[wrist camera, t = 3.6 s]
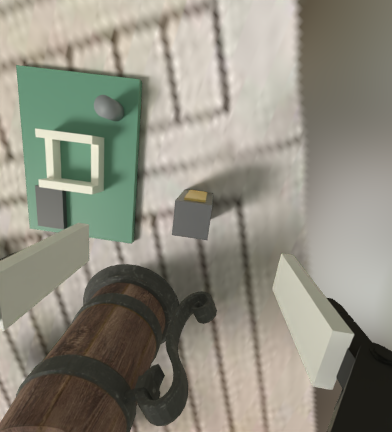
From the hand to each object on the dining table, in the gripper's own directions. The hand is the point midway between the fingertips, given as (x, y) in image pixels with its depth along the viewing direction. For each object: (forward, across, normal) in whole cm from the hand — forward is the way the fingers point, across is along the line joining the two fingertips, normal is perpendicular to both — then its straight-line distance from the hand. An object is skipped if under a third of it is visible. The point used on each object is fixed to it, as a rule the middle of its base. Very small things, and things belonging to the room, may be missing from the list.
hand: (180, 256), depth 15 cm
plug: (+17, 0, 0) cm, 17 cm away
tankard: (+17, +6, +18) cm, 26 cm away
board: (+17, +17, -4) cm, 25 cm away
